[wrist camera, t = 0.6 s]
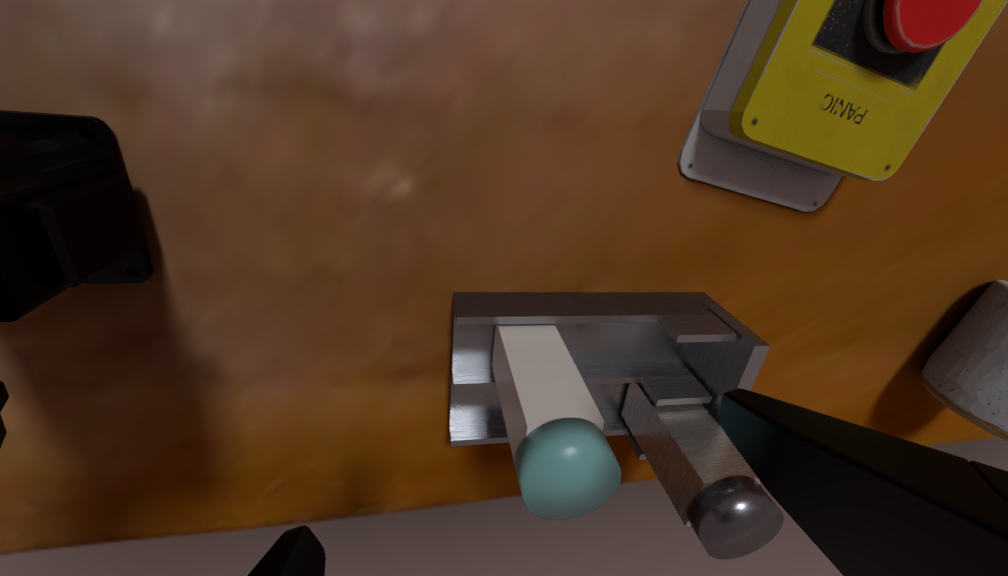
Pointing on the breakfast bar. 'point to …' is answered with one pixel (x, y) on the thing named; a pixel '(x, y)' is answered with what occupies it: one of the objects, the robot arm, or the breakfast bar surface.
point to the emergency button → (827, 92)
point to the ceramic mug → (975, 364)
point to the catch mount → (636, 393)
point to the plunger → (551, 424)
